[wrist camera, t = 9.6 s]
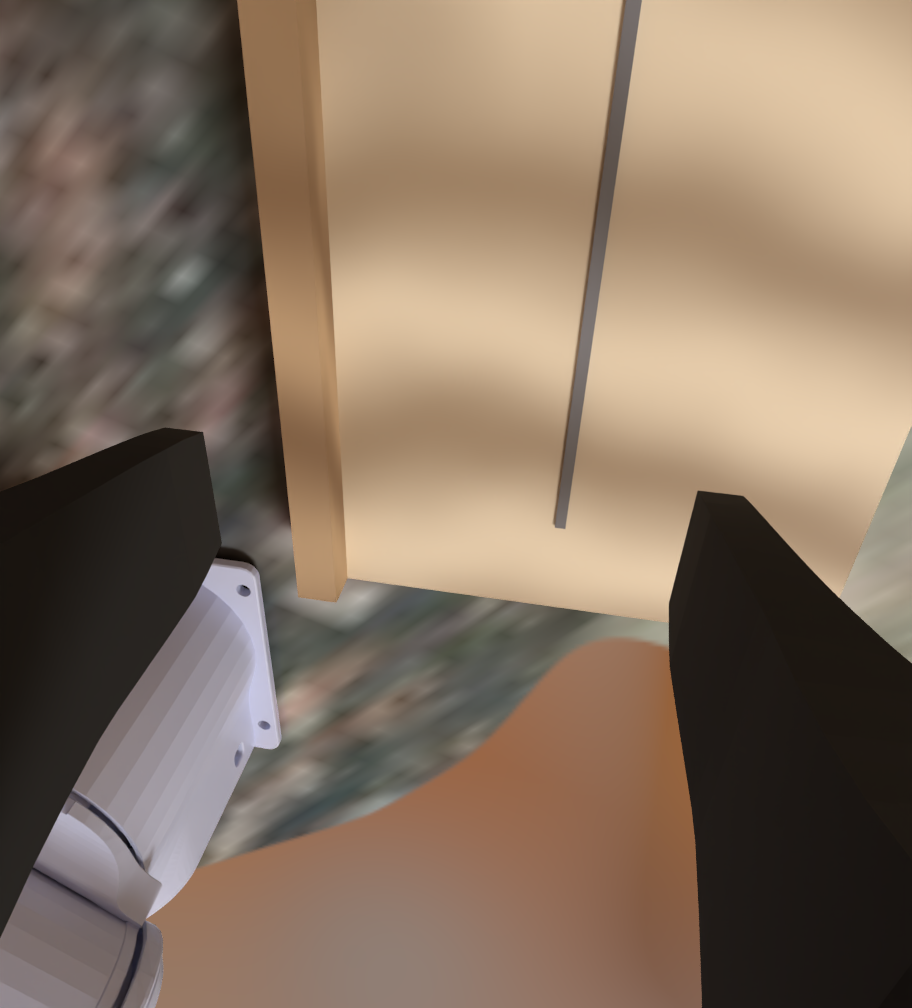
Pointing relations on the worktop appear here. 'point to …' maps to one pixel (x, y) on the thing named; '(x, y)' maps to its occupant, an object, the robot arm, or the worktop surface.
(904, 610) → the worktop surface
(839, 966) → the robot arm
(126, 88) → the worktop surface
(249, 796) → the worktop surface
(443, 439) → the board
